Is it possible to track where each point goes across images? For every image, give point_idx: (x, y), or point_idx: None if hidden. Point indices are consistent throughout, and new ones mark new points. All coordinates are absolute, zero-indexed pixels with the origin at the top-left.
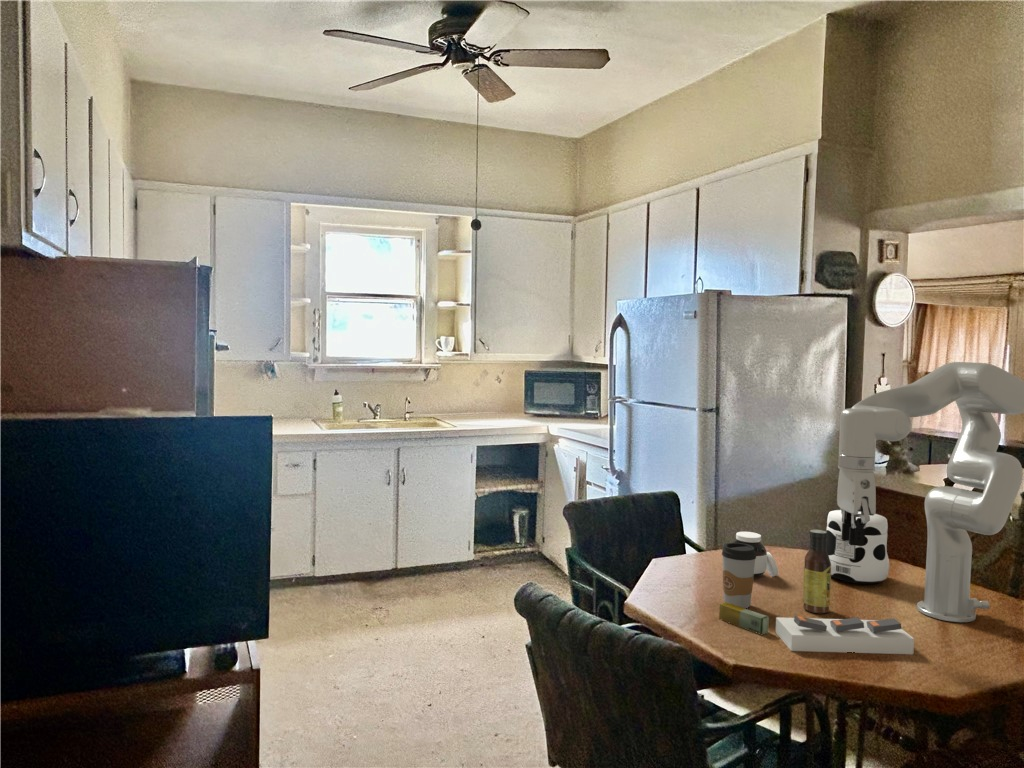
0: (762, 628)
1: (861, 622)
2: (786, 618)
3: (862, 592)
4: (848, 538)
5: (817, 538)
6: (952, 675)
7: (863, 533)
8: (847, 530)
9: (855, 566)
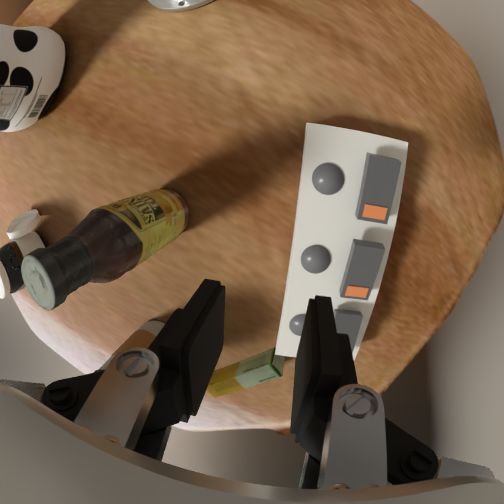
0: (283, 364)
1: (383, 253)
2: (281, 341)
3: (86, 81)
4: (220, 331)
5: (67, 292)
6: (466, 140)
7: (335, 349)
8: (205, 371)
9: (39, 86)
